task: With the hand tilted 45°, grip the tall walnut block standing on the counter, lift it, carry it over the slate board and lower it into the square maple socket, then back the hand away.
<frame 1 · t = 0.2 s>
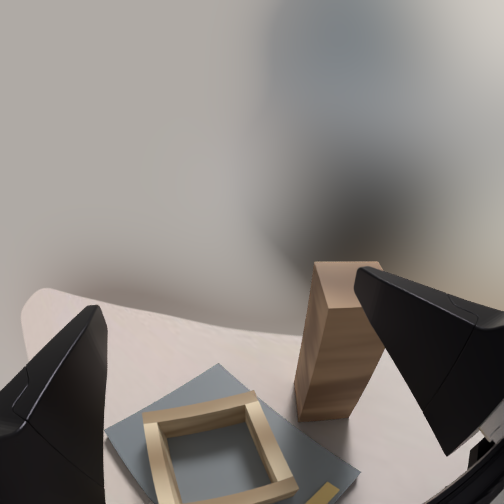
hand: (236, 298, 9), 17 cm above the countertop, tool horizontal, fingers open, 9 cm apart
walnut block: (320, 399, 23), on the countertop
maple socket: (217, 465, 16), resting on slate board
slate board: (224, 467, 17), on the countertop
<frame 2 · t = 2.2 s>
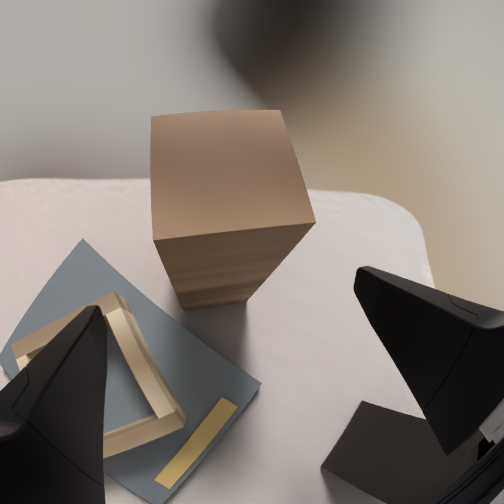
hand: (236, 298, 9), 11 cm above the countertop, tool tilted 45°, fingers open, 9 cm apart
walnut block: (210, 274, 20), on the countertop
maple socket: (101, 382, 16), resting on slate board
slate board: (111, 379, 17), on the countertop
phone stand: (378, 449, 18), on the countertop
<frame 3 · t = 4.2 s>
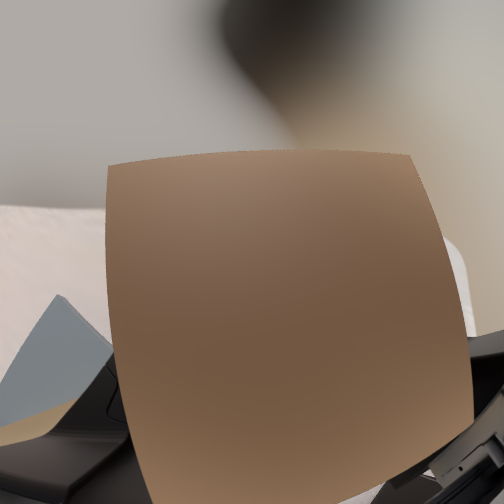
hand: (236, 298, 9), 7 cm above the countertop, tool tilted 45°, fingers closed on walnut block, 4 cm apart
walnut block: (226, 343, 15), on the countertop, touching gripper
maple socket: (99, 471, 10), resting on slate board
slate board: (110, 464, 11), on the countertop
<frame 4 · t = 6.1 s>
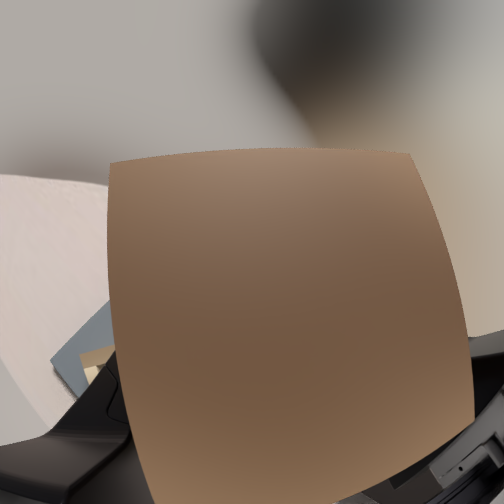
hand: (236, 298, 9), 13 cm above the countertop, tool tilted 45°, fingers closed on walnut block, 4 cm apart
walnut block: (226, 343, 15), point 7 cm above the countertop, touching gripper
maple socket: (162, 392, 19), resting on slate board
slate board: (170, 389, 20), on the countertop
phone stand: (381, 464, 20), on the countertop
when the fingers open (9 cm above the countertop, at t = 8.0 s): walnut block drops 1 cm, resting on slate board.
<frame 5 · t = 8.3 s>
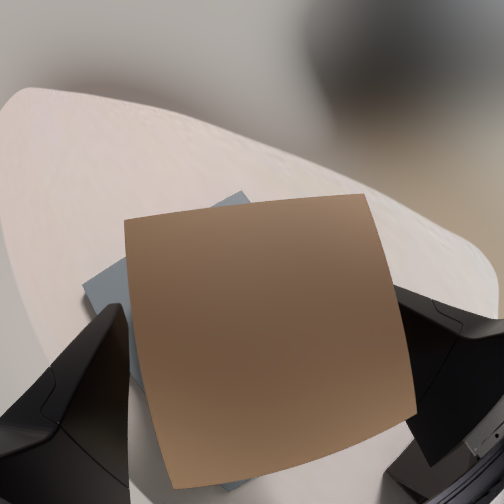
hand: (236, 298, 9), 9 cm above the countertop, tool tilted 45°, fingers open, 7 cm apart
walnut block: (224, 343, 16), point 1 cm above the countertop, touching slate board
slate board: (231, 343, 17), on the countertop
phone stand: (426, 466, 16), on the countertop
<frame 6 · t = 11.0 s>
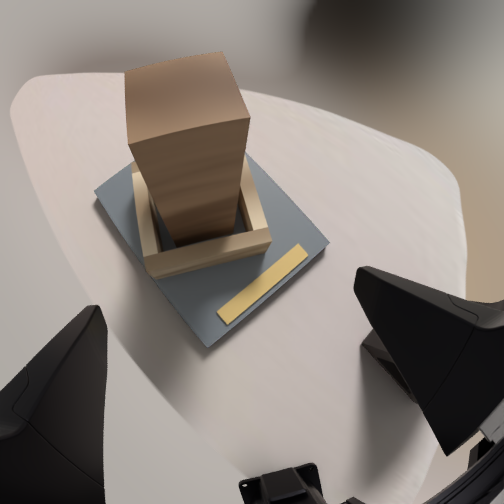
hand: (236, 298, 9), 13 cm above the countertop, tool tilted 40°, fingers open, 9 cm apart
walnut block: (198, 214, 22), point 1 cm above the countertop, touching slate board
maple socket: (198, 214, 22), resting on slate board
slate board: (205, 218, 23), on the countertop
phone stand: (408, 349, 22), on the countertop
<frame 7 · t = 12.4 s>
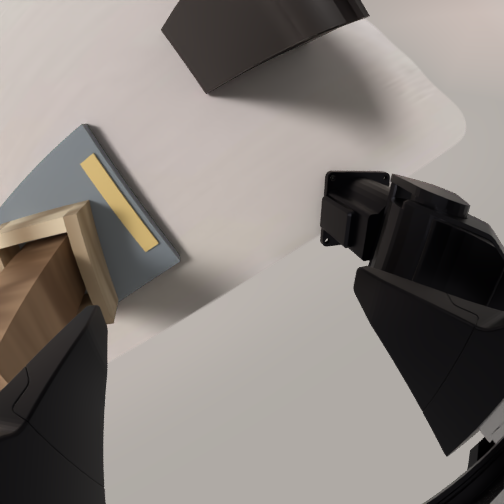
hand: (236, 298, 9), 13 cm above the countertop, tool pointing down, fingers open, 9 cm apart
walnut block: (56, 262, 19), point 1 cm above the countertop, touching slate board
maple socket: (57, 262, 19), resting on slate board
slate board: (59, 251, 19), on the countertop
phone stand: (238, 32, 16), on the countertop
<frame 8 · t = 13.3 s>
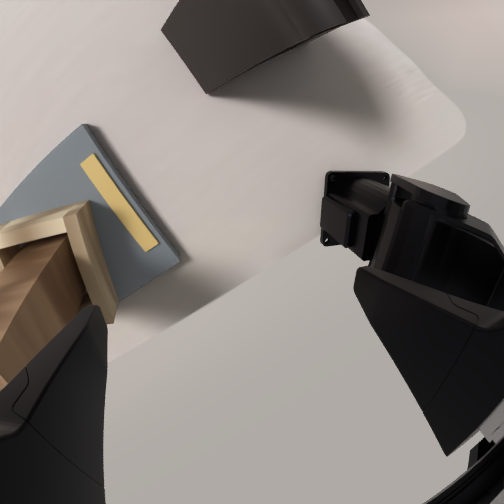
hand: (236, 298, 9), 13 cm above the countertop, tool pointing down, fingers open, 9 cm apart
walnut block: (56, 262, 19), point 1 cm above the countertop, touching slate board
maple socket: (57, 262, 19), resting on slate board
slate board: (59, 251, 19), on the countertop
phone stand: (238, 32, 16), on the countertop
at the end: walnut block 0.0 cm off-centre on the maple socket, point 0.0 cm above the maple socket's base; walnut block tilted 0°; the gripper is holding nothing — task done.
